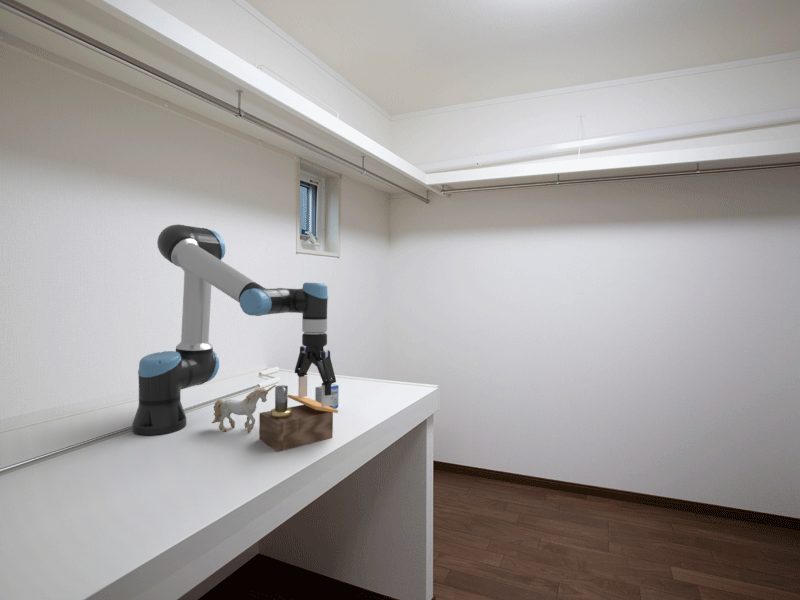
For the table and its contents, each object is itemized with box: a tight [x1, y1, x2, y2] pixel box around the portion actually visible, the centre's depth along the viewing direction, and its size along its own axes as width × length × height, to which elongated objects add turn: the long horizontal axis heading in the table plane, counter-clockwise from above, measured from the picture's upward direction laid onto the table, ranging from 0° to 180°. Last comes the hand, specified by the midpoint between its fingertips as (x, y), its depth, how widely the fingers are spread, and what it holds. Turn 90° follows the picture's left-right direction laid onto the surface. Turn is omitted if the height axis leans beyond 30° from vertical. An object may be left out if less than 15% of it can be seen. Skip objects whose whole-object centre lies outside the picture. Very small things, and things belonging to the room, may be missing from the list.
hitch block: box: [258, 404, 334, 453], centre depth 133 cm, size 18×12×8 cm, turn 132°
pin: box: [270, 384, 292, 419], centre depth 130 cm, size 6×6×16 cm
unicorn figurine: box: [211, 384, 277, 434], centre depth 140 cm, size 7×20×13 cm, turn 104°
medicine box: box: [314, 383, 340, 409], centre depth 165 cm, size 8×4×9 cm, turn 143°
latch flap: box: [288, 394, 339, 414], centre depth 137 cm, size 8×17×1 cm, turn 42°
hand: (313, 401), depth 136 cm, fingers open, 13 cm apart
